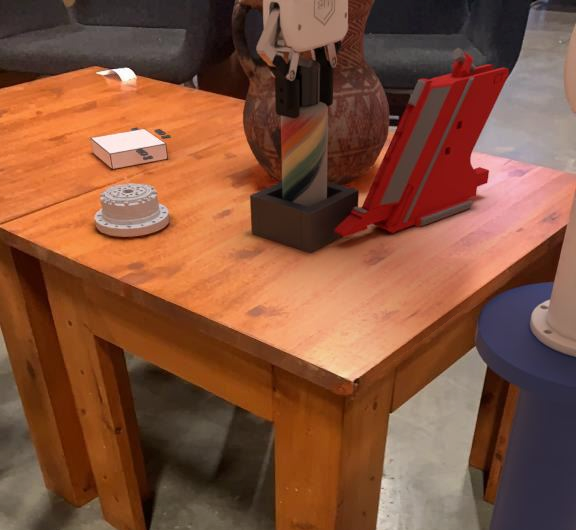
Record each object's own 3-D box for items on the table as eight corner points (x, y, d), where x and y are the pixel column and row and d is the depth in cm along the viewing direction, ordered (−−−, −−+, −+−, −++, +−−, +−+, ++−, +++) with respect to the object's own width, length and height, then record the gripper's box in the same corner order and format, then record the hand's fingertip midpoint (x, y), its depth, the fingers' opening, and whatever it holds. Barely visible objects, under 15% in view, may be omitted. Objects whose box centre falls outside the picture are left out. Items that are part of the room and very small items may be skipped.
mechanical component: (81, 227, 104) (129, 245, 99) (74, 193, 101) (123, 211, 96) (136, 205, 109) (185, 221, 105) (132, 173, 107) (181, 188, 102)
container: (82, 144, 131) (79, 127, 129) (145, 133, 135) (143, 117, 133) (123, 179, 118) (121, 161, 116) (192, 166, 122) (190, 148, 120)
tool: (358, 244, 95) (444, 19, 84) (328, 229, 97) (408, 10, 87) (458, 269, 112) (540, 87, 102) (430, 256, 115) (507, 77, 105)
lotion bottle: (291, 220, 104) (289, 52, 91) (331, 225, 103) (334, 55, 89) (277, 236, 100) (272, 63, 87) (318, 241, 99) (319, 66, 85)
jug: (330, 144, 128) (333, -38, 112) (416, 178, 116) (434, -22, 99) (218, 173, 119) (203, -21, 102) (298, 213, 106) (295, -1, 89)
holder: (357, 228, 102) (359, 189, 99) (310, 253, 96) (310, 213, 93) (299, 210, 107) (299, 173, 103) (251, 233, 101) (249, 195, 98)
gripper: (277, -71, 73) (282, 133, 85) (381, -86, 83) (371, 99, 95) (221, -75, 77) (233, 121, 89) (326, -89, 86) (324, 90, 98)
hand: (304, 108), depth 92 cm, fingers closed on lotion bottle, 5 cm apart
